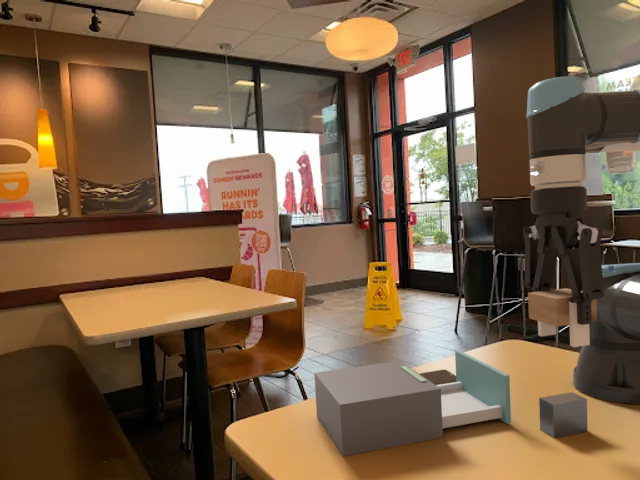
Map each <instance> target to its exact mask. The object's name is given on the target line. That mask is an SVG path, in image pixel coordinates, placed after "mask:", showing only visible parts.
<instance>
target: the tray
mask: <svg viewBox="0 0 640 480" xmlns="http://www.w3.org/2000/svg"><path fill="white" fill-rule="evenodd" d="M454 354H455V357H454V358H455V375H456V382H453V383H446V384H440V385H436V386H438V387H439V388H441V405H442V429H446V428H452V427H458V426H464V425H469V424H474V423H479V422H480V423H482V422H484V421H485V422H486V421H489V420H490V421H491V420H496V419H497V420H500V421H502V422H503V423H505V424H511V423H512V418H511V417H512V415H511V414H512V413H511V387H510V383H511V382H510V375H509V374H507V373H506V372H504V371H501V370H500V369H497V368H496V367H493V366H491V365H489V364H488V363H485V362H483V361H481V360H479V359H477V358H475V357H473V356H471V355H469V354H468V353H465V352H463V351H461V350H455V351H454Z"/></svg>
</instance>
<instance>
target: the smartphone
mask: <svg viewBox="0 0 640 480" xmlns="http://www.w3.org/2000/svg"><path fill="white" fill-rule="evenodd" d="M419 374H420V375H421V376H423V377H424V378H426V379H427V380H429V381H430V382H432V383H433V384H435V385H440V384H446V383H453V382H456V374H454V373H452V372H450V371H449V370H447V369H438V370H434V371H433V370H431V371H426V372H421V373H419Z"/></svg>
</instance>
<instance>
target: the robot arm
mask: <svg viewBox="0 0 640 480" xmlns="http://www.w3.org/2000/svg"><path fill="white" fill-rule="evenodd" d="M526 102H527V103H526V105H527V107H526V114H525V115H526V118H527V134H528V154H529V155H528V156H529V158H528V159H529V181H530V183H529V184H530V185H531V187H534V189H532V190H531V192H530V212H531V214H534V215H536V221H535V224H534V225H532V226H524V227H523V229H522V234H523V239H524V286H525V288H526V289H529V288H530V289H531V290H532V292H539V291H547V290H555V288H553V287H552V285H553V284H552V283H553V281H554V280H553V279H554V274H555V270H556V269H555V268H556V263H557V259H558V255H559V256H560V257H561V258H562V261H563V265H564V268H565V271H566V275H567V280H568V284H569V289H571V292H572V295H573V299H569V320H570V325H569V345H570V347H572V348H579V347H581V348H580V351H579V355H578V358H577V363H576V366H575V367H574V368H573V371H572V382H573V383H572V384H573V386H574V387H575V389H577V390H578V392H579V391H580V392H581V393H584V394H586V395H587V396H590V397H593V398H597V399H600V400H604V401H609V402H615V403H622V404H630V405H631V404H633V405H636V404H637V405H640V262H637V263H635V262H633V263H616V264H615V263H613V264H602V253H601V252H602V250H601V241H602V236H603V229H602V228H601V227H599V226H598V227H596V226H595V227H592V226H588V225H586V222H585V220H584V217H583V213H584V212H586V210H588V198H587V197H588V193H587V188H586V186H583V183H585V182H586V181H587V178H588V177H587V164H586V163H587V162H586V154H593V153H614V152H617V153H618V152H620V153H621V152H640V90H638V89H633V90H628V91H627V90H625V91H609V92H607V91H605V92H588V91H587V92H586V88H585V87H584V81H583V79H582V78H581V77H578V76H571V75H570V76H559V77H551V78H547V79H544V80H541V81H540V80H539V81H538V82H536V83H534V84H533V85H532V86H531V87H530V88H529V89H528V91H527V101H526ZM581 291H583V292H582V293H581ZM594 299H597V321H592V317H591V316H592V314H591V302H592V301H593V300H594ZM591 321H592V322H591ZM537 330H538V331H537V334H538V336H539V337H547V336H554V335H557V326H553V325H550V324H547V323H543V322H540V321H537Z"/></svg>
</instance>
